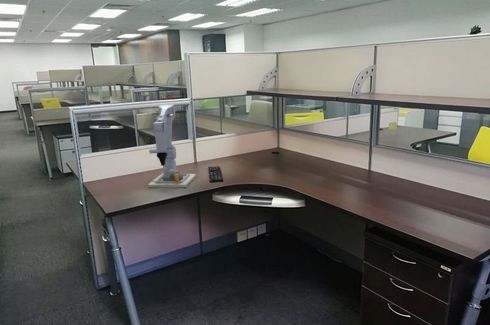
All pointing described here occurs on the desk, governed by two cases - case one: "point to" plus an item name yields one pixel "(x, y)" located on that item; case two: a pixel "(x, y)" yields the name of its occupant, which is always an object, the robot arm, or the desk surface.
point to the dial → (172, 176)
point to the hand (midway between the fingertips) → (163, 165)
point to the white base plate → (181, 183)
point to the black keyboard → (215, 174)
